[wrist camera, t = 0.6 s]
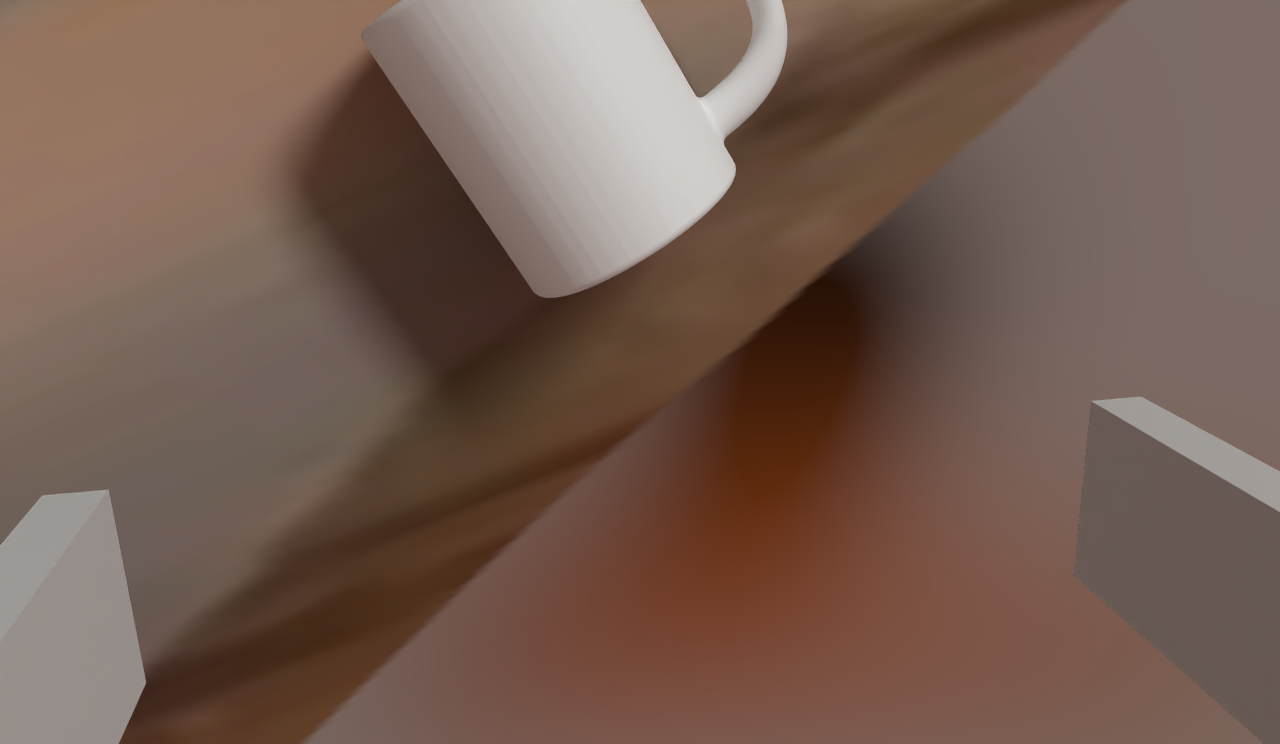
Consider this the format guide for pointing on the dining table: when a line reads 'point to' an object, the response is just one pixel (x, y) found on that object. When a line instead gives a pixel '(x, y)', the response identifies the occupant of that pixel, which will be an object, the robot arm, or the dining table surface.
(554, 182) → the mug
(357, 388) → the dining table surface
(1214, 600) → the robot arm
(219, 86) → the dining table surface
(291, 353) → the dining table surface
